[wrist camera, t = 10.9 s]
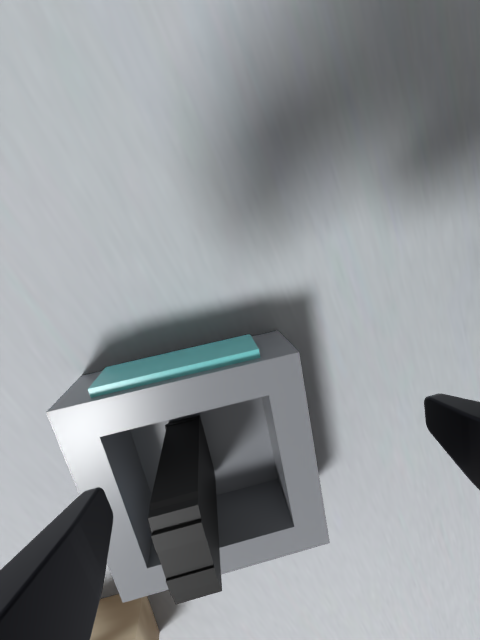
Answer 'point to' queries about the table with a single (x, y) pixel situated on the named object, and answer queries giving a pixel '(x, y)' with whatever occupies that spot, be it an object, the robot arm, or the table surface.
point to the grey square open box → (223, 442)
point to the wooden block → (124, 620)
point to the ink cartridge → (186, 513)
